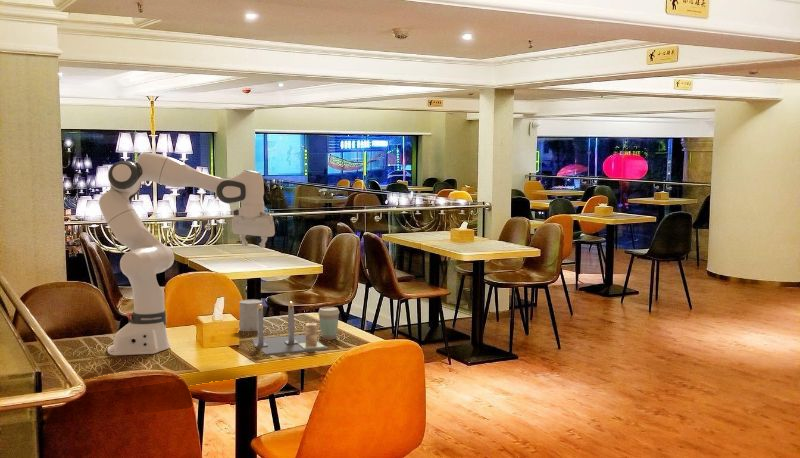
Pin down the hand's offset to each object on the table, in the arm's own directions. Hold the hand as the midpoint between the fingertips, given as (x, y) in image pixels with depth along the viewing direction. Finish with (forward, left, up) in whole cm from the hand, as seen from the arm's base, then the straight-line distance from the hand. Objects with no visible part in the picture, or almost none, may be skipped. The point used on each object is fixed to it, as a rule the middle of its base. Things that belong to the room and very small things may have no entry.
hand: (253, 246), depth 326 cm
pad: (+17, -22, -37) cm, 46 cm away
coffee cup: (+28, -9, -37) cm, 48 cm away
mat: (+10, -15, -37) cm, 41 cm away
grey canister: (+2, +16, -37) cm, 41 cm away
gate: (+5, -15, -37) cm, 40 cm away
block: (+17, -22, -36) cm, 45 cm away
